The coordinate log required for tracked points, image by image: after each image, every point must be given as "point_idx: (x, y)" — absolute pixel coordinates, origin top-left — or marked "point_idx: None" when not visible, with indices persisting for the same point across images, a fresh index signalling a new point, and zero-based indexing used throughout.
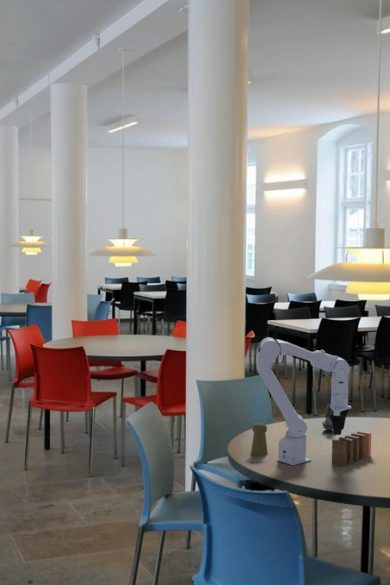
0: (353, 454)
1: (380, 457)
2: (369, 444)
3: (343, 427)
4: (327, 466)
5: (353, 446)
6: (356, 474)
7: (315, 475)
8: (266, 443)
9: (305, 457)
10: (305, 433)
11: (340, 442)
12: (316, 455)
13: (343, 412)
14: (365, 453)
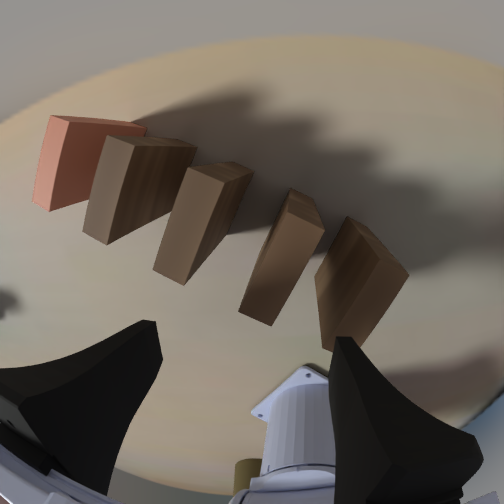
0: (240, 192)
1: (139, 77)
2: (106, 122)
3: (147, 329)
4: None
5: (229, 201)
6: (461, 167)
7: (480, 322)
8: (249, 485)
9: (319, 391)
10: (289, 473)
11: (389, 303)
12: (210, 350)
13: (67, 429)
14: None
